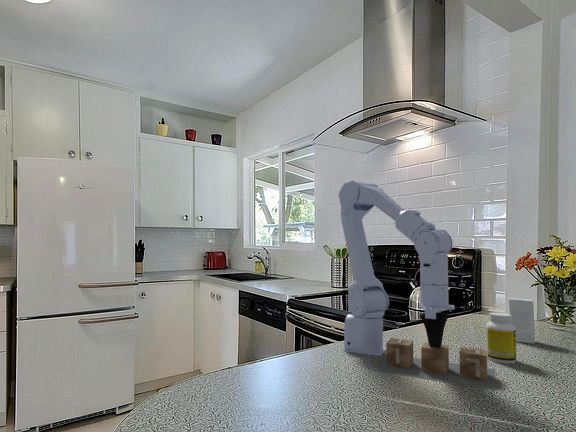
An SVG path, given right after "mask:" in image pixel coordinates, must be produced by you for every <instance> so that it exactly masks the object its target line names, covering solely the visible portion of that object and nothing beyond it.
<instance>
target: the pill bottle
mask: <svg viewBox="0 0 576 432" xmlns="http://www.w3.org/2000/svg"><path fill="white" fill-rule="evenodd" d="M488 316H489V317H488V318H489V320H490V321H488V322H487V323H486V326H485V330H486V331H485V332H486V333H485V334H486V336H485V338H486V341H485V342H486V350H487V360H489V361H491V362H494V363H498V364H505V365H507V364H508V365H509V364H510V365H511V364H516V363H517V342H516V330H515V326H514V325H512V324H511V320H512V316H511V315H510V313H504V312H489V314H488Z"/></svg>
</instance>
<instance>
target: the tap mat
mask: <svg viewBox="0 0 576 432" xmlns="http://www.w3.org/2000/svg"><path fill="white" fill-rule="evenodd" d="M373 371H374V372H375V371H376V372H382V373H387V374H394V375H399V376H404V377H405V376H406V377H409V378H410V377H411V378H416V379H423V380H430V381H434V382H441V383H447V384H451V385H453V384H454V385H458V386H465V387H468V388H469V387H470V388H476V389H482V390H489V391H494V392H497V382H496V380H497V379H496V369H494V368H489V367H487V382H486V381H479V380H473V379H467V378H461V377H460V363H456V362H455V363H453V362H449V370H448V373H447V375H442V374H436V373H429V372H423V371H422V366H421V358H420V357H419V358H418V357H414V356H413V365H412V366H411V368H410V369H404V368H398V367H392V366H386V357H385V358H384V359H383V360H382V361H381V363H379V364H378V366H377V367H376V368H375V369H374V370H373Z"/></svg>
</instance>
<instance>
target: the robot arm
mask: <svg viewBox="0 0 576 432" xmlns="http://www.w3.org/2000/svg"><path fill="white" fill-rule="evenodd" d="M338 198H339V203H340V220H341V225H342V230H343V234H344V241H345V245H346V248H347V249H346V250H347V254H348V259H349V262H350V263H349V264H350V268H351V269H350V270H351V273H352V278H353V280H352V281H351V282H350V284H349V285H348V287H347V292H348V293H347V294H348V298H347V307H348V308H349V310H350V312H351V313H349V314H347V315H346V317H345V320H344V328H343V330H344V331H343V332H344V333H343V334H344V338H343V339H344V341H343V342H344V343H343V347H344V348H343V352H349V353H356V354H362V355H369V356H376V357H381V356H382V355H383V354H384V353H386V346H384V316H385V311H387V310H388V308H389V306H390V299H389V295H388V293H387V292H386V291H385V289H384V286H383V285H384V284H383V282H381V281H380V279H378V278H377V277H376V276H375V273H374V272H375V271H374V268H373V264H372V260H371V259H372V257H371V254H370V249H369V246H368V242H367V241H368V240H367V237H366V233H365V229H364V224H363V219H364V218H365V216H366V215H367V214H368V213H369V212H370V211H371V210H372V209H373V208H374V207H376V208H377V209H379V210H380V211H381V212H382V213H383V214H385V215H387V216H388V217H389V218H391V219H392V220H393V221H394V223H395V224H394V225H395V228H396V229H397V231H399V232H400V233H401V234H403V235H404V236H405V237H406V238H407V239H409V241H410V242H412V243H413V246H414V249H415V250H416V252H417V254H418V259H419V260H418V261H419V264H420V265H419V270H420V272H419V273H420V275H419V276H420V303H419V308H420V309H422V310H423V311H424V312H421V313H420V314H419V317H420V320H421V321H422V324H423V326H424V329H425V332H426V337H427V343H429V346H430V347H438V348H440V347H441V344H442V343H443V336H444V331H445V328H446V327H445V326H446V323H447V321H448V319H449V317H450V313H446V312H444V311H450V310H453V311H454V310H455V305H454V304H449V260H448V257H449V256H448V255H449V253H450V252H451V250H452V249H453V244H454V243H453V239H452V237H451V235H450V234H449V233H448V232H447V230H444V229H437V228H436V224H434V223H433V222H428V221H427V220H426V219H425V218H423V217H422V216H421V212H420V211H418V210H415V209H404V208H403V207H401V206H400V204H398V203H397V202H396V201H395V200H393V198H391V197H390V196H389V195H388V193H386V192H385V191H384V190H383V188H381V187H379V186H378V185H377V184H375V183H366V182H359V181H355V180H351V179H349V180H346V181H345V182H344V183H343V185H342V186H341V187H340V189H339V192H338ZM442 345H443V344H442Z"/></svg>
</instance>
